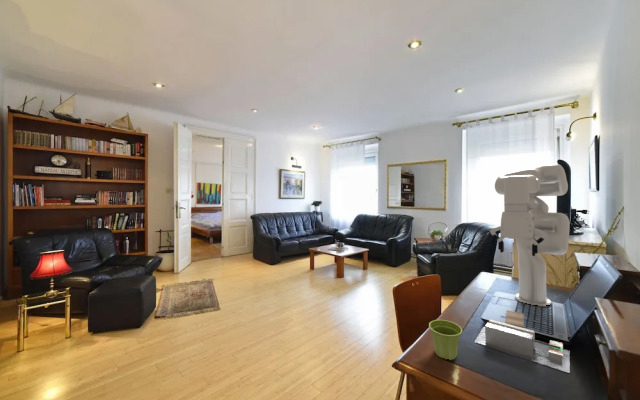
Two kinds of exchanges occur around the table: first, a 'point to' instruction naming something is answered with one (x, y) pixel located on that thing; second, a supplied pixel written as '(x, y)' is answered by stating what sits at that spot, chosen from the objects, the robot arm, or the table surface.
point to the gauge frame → (524, 346)
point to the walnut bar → (515, 318)
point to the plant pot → (445, 338)
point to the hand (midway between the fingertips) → (517, 253)
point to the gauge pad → (521, 331)
